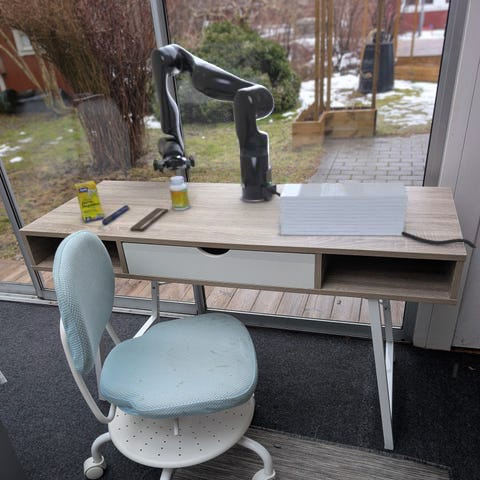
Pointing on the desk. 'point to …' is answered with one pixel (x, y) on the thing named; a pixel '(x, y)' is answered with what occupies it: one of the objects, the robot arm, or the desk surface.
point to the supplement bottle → (179, 193)
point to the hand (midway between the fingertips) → (175, 168)
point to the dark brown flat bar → (149, 219)
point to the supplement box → (89, 201)
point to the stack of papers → (343, 209)
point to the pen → (115, 215)
